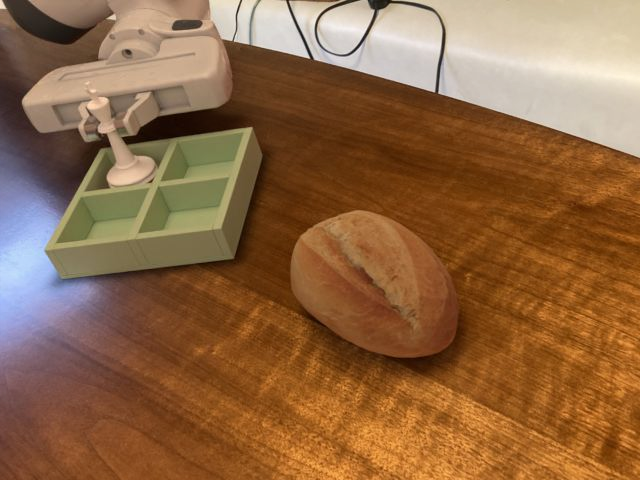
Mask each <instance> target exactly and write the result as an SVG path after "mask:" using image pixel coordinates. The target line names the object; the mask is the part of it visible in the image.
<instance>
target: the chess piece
mask: <svg viewBox="0 0 640 480" xmlns="http://www.w3.org/2000/svg"><path fill="white" fill-rule="evenodd" d="M85 86H86V88H84V89H85V91H86V93H88V94H90V96H91V98H92V100H91V101H90V102H89V103H88V104H87V109H88V110H89V111H90V112H91V113H92V114H93V115H94V116H95V117H96V118H97V119H98V120H99V121H100V122H101V123H100V124H99V125H98V132H99V133H105V134H106V135H107V138H108V141H109V143H110V147H112V149H113V152H114V155H115V158H116V163H115V166H113V167H112V168H111V169H110V171H109V172H108V174H107V181H108V184H109V187H110V188H117V187H124V186H132V185H139V184H146V183H148V182H149V181H151V180H152V179H153V178H154V177H155V175H156V173H157V171H158V166H157V164H156V163H155V162H154V160H153V159H152V158H150V157H147V156H136V155H133V154H132V153H131V151H130V150H129V148H128V147H127V145H128V144H127V143H125V141H124V140H123V137H120V136H119V134H118V130H117V129H116V128H115V126H114V119H111V112H110V103H109V100H108V99H107V98H105V97H98V96H99V93H98V91H97V90H95V89H94V88H93V86H92V84H91V83H90V82H87V83H85Z"/></svg>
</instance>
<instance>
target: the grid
mask: <svg viewBox="0 0 640 480" xmlns="http://www.w3.org/2000/svg"><path fill="white" fill-rule="evenodd" d="M126 145H127V147H128V148H129V150H130V151H131V153H132V154H133V155H136V156H147V157H150V158H152V159H153V160H154V162H155V163H156V164H157V166H158V171H157V173H156V175H155V177H154V178H153V179H152V180H151V181H149V182H148V183H146V184H139V185H132V186H124V187H117V188H110V187H109V184H108V181H107V174H108V172H109V171H110V169H111V168H112V167H113V166H115V163H116V158H115V155H114V152H113V149H112V147H111V146H108V147H102V148H100V149H99V151H98V153H97V154H96V156H95V157H94V160H93V162H92V164H91V165H90V167H89V169H88V171H87V172H86V174H85V176H84V178H83V179H82V182H81V183H80V185H79V187H78V189H77V190H76V192H75V194H74V196H73V197H72V199H71V201H70V203H69V205H68V207H67V208H66V210H65V211H64V213H63V215H62V217H61V218H60V221H59V223H58V224H57V226H56V228H55V230H54V232H53V233H52V235H51V237H50V239H48V242H47V243H46V246H45V248H44V250H43V251H44V253H45V255H46V256H47V259H49V261H50V262H51V264H52V266H53V267H54V269H55V270H56V272H57V273H58V275H59V277H60V278H61V280H69V279H76V278H77V279H78V278H85V277H93V276H102V275H109V274H119V273H127V272H135V271H143V270H153V269H160V268H168V267H177V266H186V265H192V264H202V263H210V262H218V261H226V260H227V261H228V260H234V259H235V257H236V253H237V249H238V246H239V243H240V238H241V235H242V232H243V228H244V225H245V220H246V217H247V214H248V211H249V207H250V203H251V199H252V195H253V192H254V189H255V184H256V182H257V178H258V174H259V170H260V168H261V164H262V159H263V156H264V155H263V153H262V150H261V147H260V144H259V141H258V138H257V135H256V133H255V130H254V128H253V126H248V127H242V128H241V127H240V128H235V129H226V130H220V131H213V132H207V133H200V134H193V135H185V136H179V137H172V138H165V139H164V138H163V139H158V140H151V141H143V142H136V143H129V144H126Z"/></svg>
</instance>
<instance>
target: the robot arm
mask: <svg viewBox="0 0 640 480" xmlns="http://www.w3.org/2000/svg"><path fill="white" fill-rule="evenodd" d="M1 1H2V2H3V5H4V8H5V9H6V10H7V13H8V14H9V15H10V17H11V19H13V21H14V22H15V24H17V25H18V26H19V28H20V29H22V30H23V31H24V32H26V33H27V34H29V35H31V36H33V37H35V38H38V39H40V40H42V41H44V42H45V41H46V42H49V43H52V44H57V45H62V46H69V45H73V44H75V43H76V42H77V41H79V40H80V39H81V38H83V37H84V36H85V35H88V33H90V32H91V31H92V30H93V29H94V28H96V27H97V26H98V24H101V23H102V22H103V21H105V20H106V19H109V18H111V17H112V16H114V15H115V22H114V24H113V25H112V27H111V29H110V30H109V31H108V33H107V34H106V36H105V38H104V39H103V40H102V42H101V44H100V45H99V50H98V54H97V55H98V58H97V59H98V60H97V61H91V62H84V63H78V64H71V65H66V66H61V67H58V68H56V69H52V70H51V71H50V72H48V73H46V74H45V75H44V76H42V77H41V78H40V79H39V81H37V83H35V84H34V85H33V86H32V87H31V88H30V90H29V91H28V92H27V93H26V94H25V95H24V96H23V98H22V99H21V105H22V109H23V111H24V113H25V115H26V116H27V117H26V118H28V120H29V122H30V123H31V124H32V126H33V127H34V128H35V129H36V131H38V133H40V134H49V133H55V132H61V131H71V130H76V129H78V132H79V134H80V136H81V138H82V139H83V141H84V143H91V142H92V143H93V142H97V141H102V140H103V137H104V136H105V135H106V133H99V132H98V125H99V124H100V123H101V122H100V121H99V120H98V119H97V118H96V117H95V116H94V115H93V114H92V113H91V112H90V111H89V110H88V109H87V104H88V103H89V102H90V101H91V100H92V98H91V96H90V94H88V93H86V91H85V89H84V88H86V86H85V83H87V82H90V83H91V84H92V86H93V88H94V89H95V90H97V91H98V93H99V96H98V97H105V98H107V99H108V100H109V103H110V112H111V119H114V126H115V128H116V130H117V131H118V134H119V136H120V137H121V138H124V137H132V136H137V135H138V133H139V131H140V129H141V127H144V126H145V125H147V124H148V123H150V122H151V121H153V120H154V119H156V118H158V117H162V116H170V115H176V114H182V113H183V114H184V113H190V112H197V111H203V110H211V109H218V108H220V107H221V106H223V105H225V104H226V103H228V102H229V101H230V99H231V96H232V92H233V88H234V81H233V77H234V76H233V71H232V66H231V62H230V59H229V55H228V53H227V52H228V51H227V49H226V47H225V44H224V41H223V39H222V36H221V33H220V32H219V30H218V28H217V26H216V23H215V22H214V21H213V20H211V3H210V0H1Z"/></svg>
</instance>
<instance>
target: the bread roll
mask: <svg viewBox="0 0 640 480" xmlns="http://www.w3.org/2000/svg"><path fill="white" fill-rule="evenodd" d="M291 255H292V256H291V259H290V271H289V273H290V285H291V292H292V294H293V295H294V297H295V299H296V300H297V301H298V303H299V304H300V305H301V307H303V308H304V309H305V311H306V312H307V313H309V314H310V315H311V316H313V318H315V319H316V320H317V321H318V322H320V323H321V324H322V325H324V326H326V327H327V328H328V329H329V330H330V331H332V332H334V334H336V335H337V336H339V337H341V339H342V338H343V339H344V340H346V341H347V342H350V343H352V344H353V345H356V346H357V347H359V348H361V349H364V350H367V351H369V352H372V353H376V354H379V355H384V356H387V357H392V358H402V359H403V358H408V359H409V358H411V359H413V358H414V359H415V358H421V357H427V356H432V355H435V354H438V353H441V352H442V351H444V350H446V349H447V348H448V347H449V346H450V345H451V344H452V343H453V341H454V339H455V337H456V335H457V329H458V324H459V315H460V305H459V298H458V294H457V291H456V288H455V285H454V282H453V279H452V277H451V275H450V273H449V270H448V269H447V268H446V266H445V265H444V264H443V262H442V261H441V260H440V258H439V257H438V255H437V254H436V253H435V252H434V250H433V249H432V248H431V247H430V246H429V245H428V244H427V243H426V242H425V241H424V240H422V239H421V238H420V237H419V236H418V235H416V233H414V232H413V231H411V230H410V229H408V228H407V227H405V226H403V225H402V224H401V223H399V222H397V221H396V220H393V219H392V218H390V217H387V216H385V215H383V214H379V213H377V212H372V211H370V210H369V211H368V210H362V209H361V210H359V209H355V210H353V211H349V212H348V211H347V212H345V213H340V214H338V215H336V216H333V217H330V218H327V219H325V220H323V221H320V222H317V223H316V224H314V225H313V226H312V227H309V228H307V229H306V231H305V232H304V233H302V234H301V235H300V236H299V237H298V240H297V242H296V243H295V245H294V248H293V250H292V254H291Z"/></svg>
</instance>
